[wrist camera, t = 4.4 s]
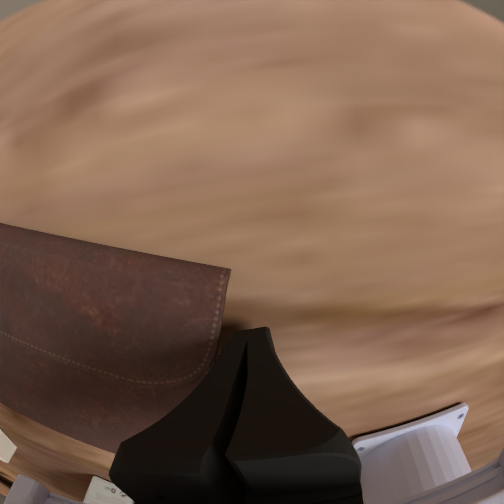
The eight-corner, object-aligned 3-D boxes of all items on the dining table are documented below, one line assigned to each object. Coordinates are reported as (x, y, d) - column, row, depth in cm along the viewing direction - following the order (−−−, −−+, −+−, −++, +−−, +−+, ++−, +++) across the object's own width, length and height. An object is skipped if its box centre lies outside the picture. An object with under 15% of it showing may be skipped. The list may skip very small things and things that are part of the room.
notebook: (202, 458, 18) (198, 481, 16) (-16, 377, 17) (-27, 390, 15) (232, 262, 12) (227, 285, 10) (-62, 204, 12) (-83, 213, 10)
